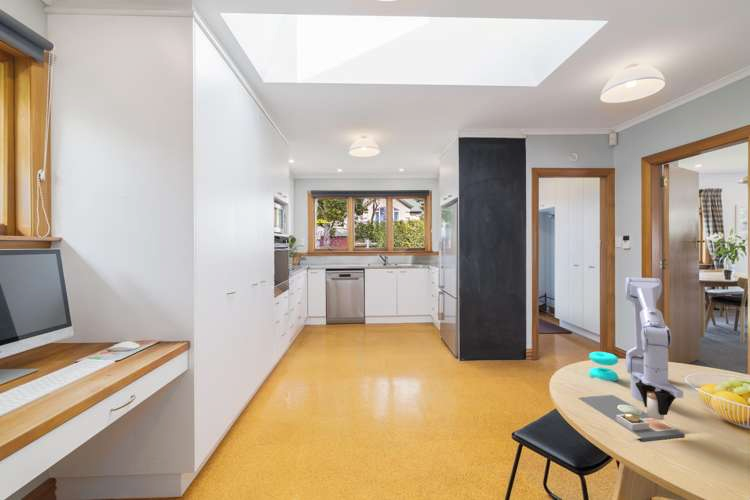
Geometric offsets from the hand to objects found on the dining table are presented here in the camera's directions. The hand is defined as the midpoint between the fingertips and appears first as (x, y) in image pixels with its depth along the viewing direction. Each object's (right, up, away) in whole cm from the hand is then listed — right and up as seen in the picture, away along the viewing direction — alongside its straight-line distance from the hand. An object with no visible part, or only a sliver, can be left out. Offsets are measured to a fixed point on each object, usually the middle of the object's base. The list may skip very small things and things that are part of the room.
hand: (655, 410), depth 102 cm
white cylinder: (0, -2, 0) cm, 2 cm away
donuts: (+10, -5, +38) cm, 39 cm away
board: (-4, -5, +7) cm, 10 cm away
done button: (-7, -3, 0) cm, 8 cm away
